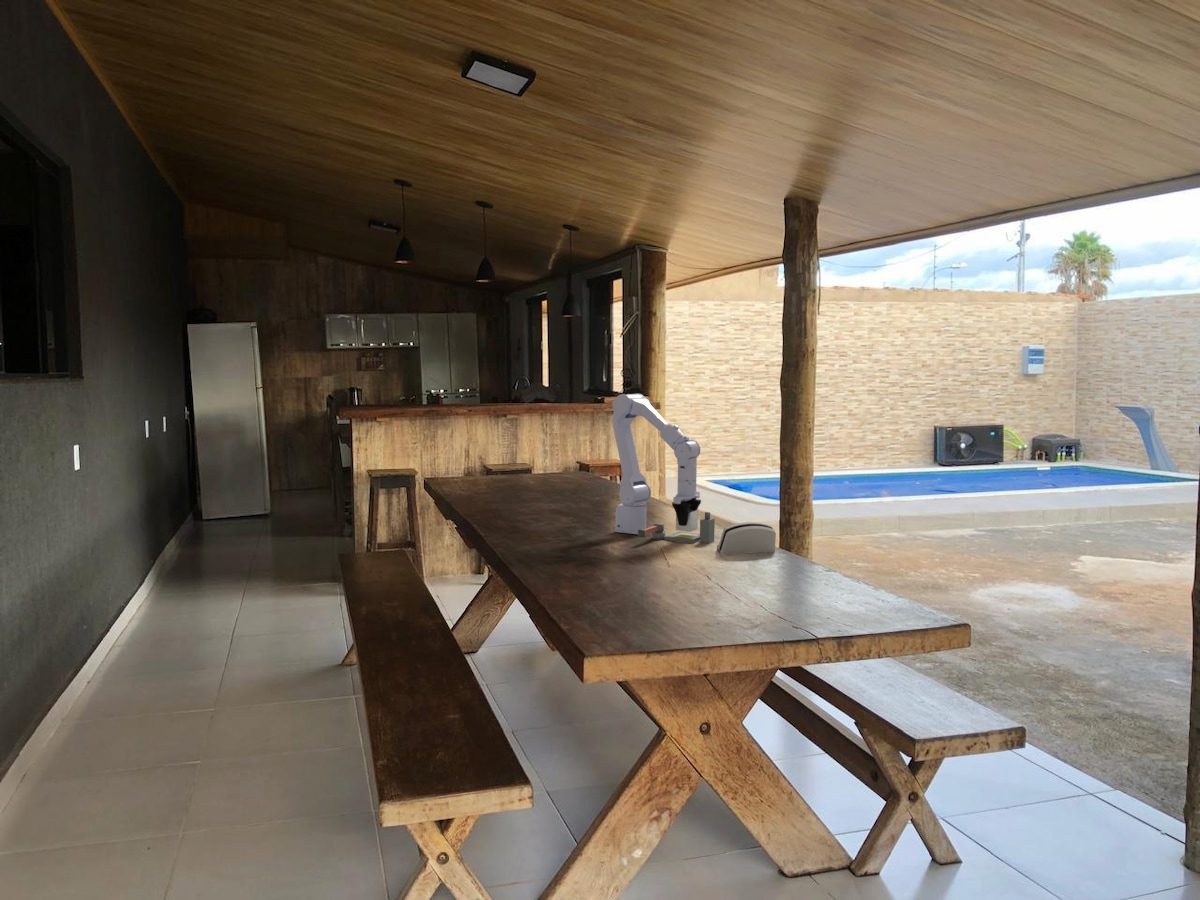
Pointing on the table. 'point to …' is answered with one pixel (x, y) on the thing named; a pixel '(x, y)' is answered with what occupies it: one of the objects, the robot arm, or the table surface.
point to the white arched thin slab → (747, 538)
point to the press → (704, 536)
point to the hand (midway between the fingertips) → (686, 524)
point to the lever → (651, 529)
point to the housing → (689, 522)
